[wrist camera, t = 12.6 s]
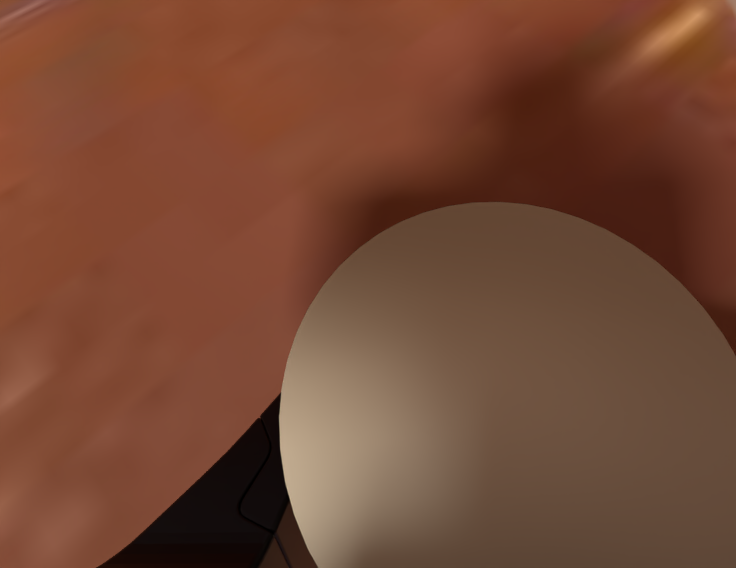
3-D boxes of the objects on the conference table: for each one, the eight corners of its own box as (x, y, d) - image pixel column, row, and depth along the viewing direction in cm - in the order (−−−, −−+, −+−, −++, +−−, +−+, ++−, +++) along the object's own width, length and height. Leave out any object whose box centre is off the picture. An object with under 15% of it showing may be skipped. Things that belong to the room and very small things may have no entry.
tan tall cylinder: (445, 445, 13) (760, 857, 2) (362, 412, 14) (202, 563, 2) (468, 359, 14) (781, 266, 3) (389, 332, 15) (367, 161, 3)
